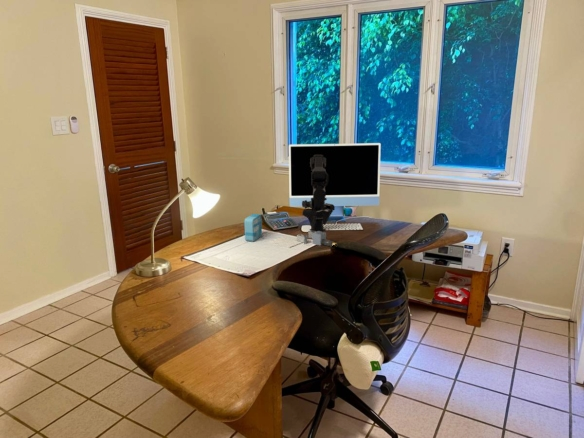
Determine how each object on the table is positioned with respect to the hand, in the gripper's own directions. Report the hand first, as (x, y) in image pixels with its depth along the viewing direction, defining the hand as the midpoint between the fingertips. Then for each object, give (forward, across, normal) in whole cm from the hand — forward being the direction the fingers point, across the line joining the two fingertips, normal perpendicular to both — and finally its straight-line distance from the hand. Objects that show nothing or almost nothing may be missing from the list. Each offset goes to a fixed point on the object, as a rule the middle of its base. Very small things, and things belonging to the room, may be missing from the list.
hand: (318, 226), depth 215 cm
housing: (+8, 0, -7) cm, 11 cm away
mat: (+8, +11, -13) cm, 19 cm away
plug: (+8, 0, +5) cm, 10 cm away
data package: (+9, +17, -30) cm, 35 cm away
